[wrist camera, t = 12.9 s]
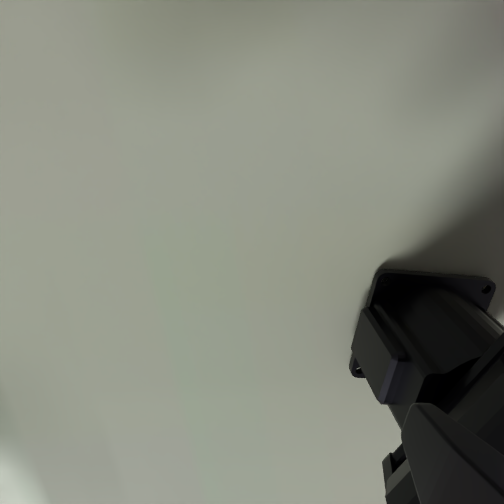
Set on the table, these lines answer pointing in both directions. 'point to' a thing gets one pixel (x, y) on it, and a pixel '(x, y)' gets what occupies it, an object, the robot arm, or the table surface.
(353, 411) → the table surface
